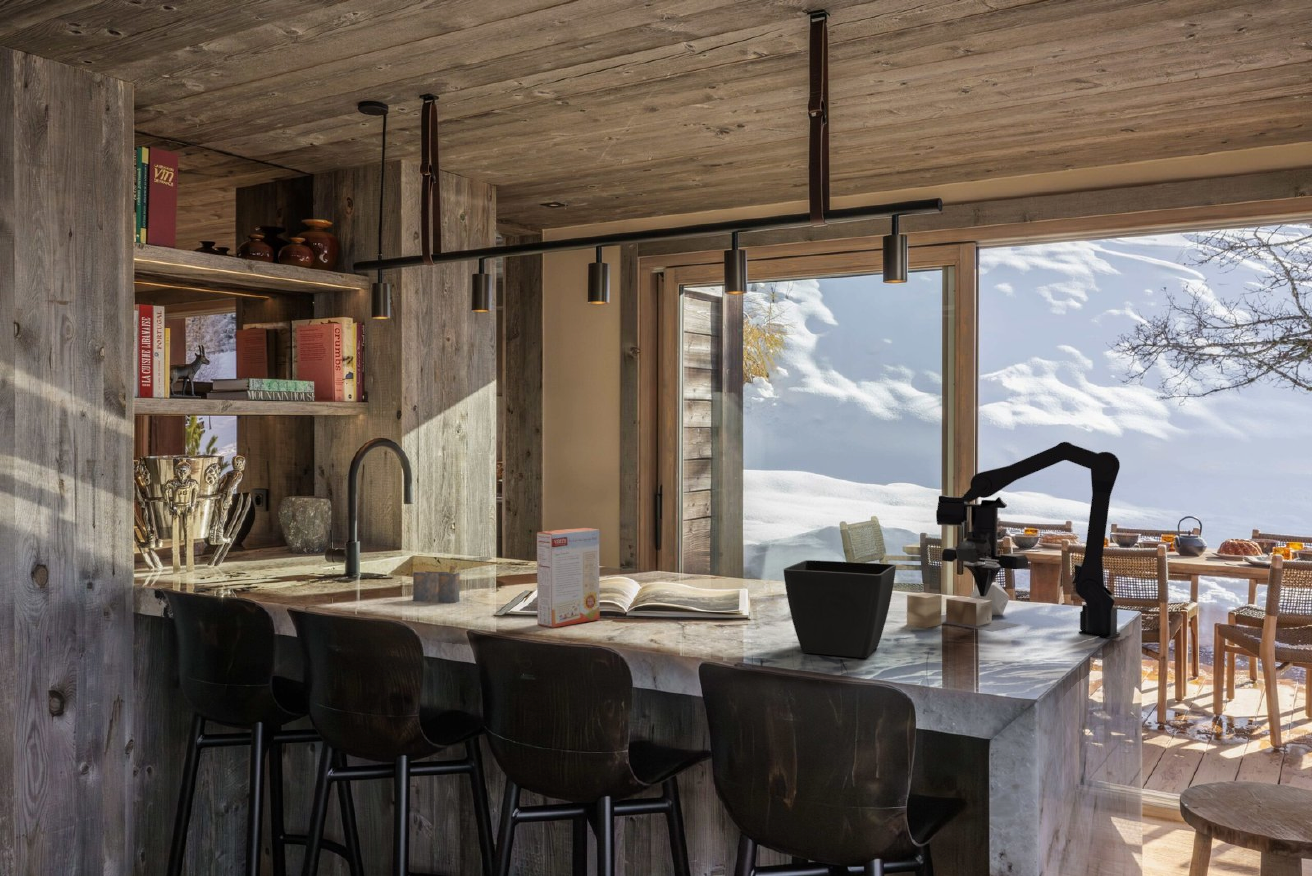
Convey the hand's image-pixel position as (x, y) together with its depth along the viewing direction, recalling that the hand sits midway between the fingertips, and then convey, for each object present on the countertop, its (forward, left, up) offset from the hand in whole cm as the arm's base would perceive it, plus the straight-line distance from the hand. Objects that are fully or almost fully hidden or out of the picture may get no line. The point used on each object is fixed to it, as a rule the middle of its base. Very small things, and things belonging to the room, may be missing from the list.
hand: (983, 596), depth 227 cm
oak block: (+8, +11, -7) cm, 15 cm away
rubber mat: (+3, 0, -7) cm, 7 cm away
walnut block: (0, 0, -4) cm, 4 cm away
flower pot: (+4, +46, -7) cm, 47 cm away
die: (+6, -13, -7) cm, 16 cm away
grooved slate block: (+105, +80, -7) cm, 132 cm away
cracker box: (+61, +71, -7) cm, 94 cm away
